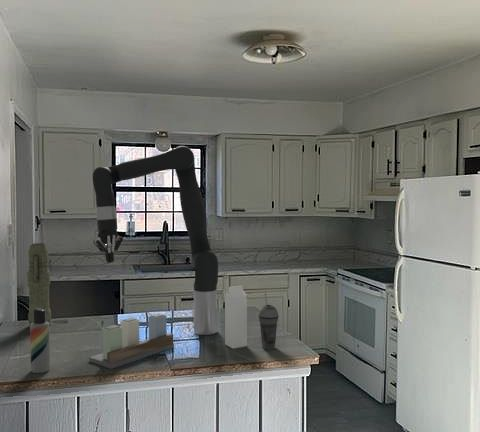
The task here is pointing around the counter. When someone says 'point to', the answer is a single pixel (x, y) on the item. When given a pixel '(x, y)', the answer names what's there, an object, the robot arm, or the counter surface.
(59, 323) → the counter surface
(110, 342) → the key sage
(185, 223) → the robot arm
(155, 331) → the key slate
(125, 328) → the key cream
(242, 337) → the milk
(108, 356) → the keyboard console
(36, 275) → the thermos
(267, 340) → the beverage cup
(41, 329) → the lotion bottle
